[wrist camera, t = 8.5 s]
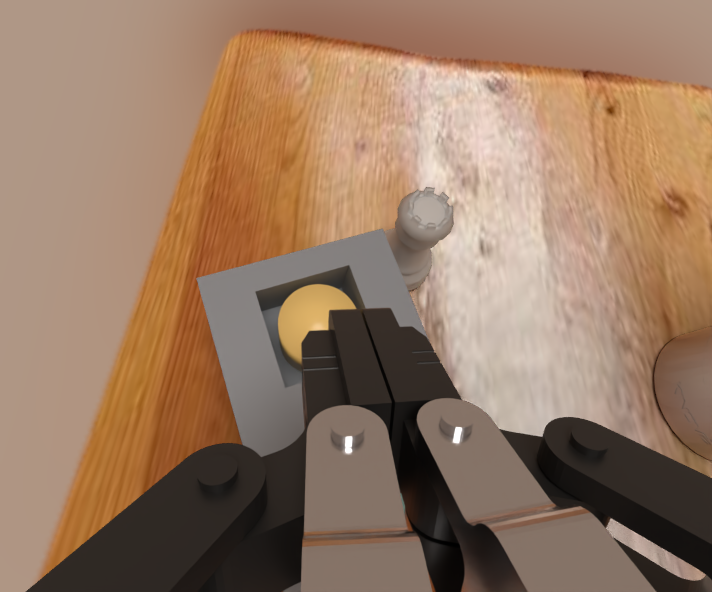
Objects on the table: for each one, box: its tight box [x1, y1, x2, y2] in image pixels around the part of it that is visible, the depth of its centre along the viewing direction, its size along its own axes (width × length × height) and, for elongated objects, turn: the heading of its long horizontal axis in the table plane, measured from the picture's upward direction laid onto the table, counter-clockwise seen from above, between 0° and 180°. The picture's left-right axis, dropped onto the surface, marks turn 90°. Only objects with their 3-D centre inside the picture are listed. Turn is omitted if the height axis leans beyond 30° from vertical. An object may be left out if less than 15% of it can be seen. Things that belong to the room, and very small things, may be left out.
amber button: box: [278, 284, 356, 372], centre depth 23 cm, size 4×4×4 cm
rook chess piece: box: [384, 187, 454, 291], centre depth 28 cm, size 4×4×8 cm
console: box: [197, 229, 429, 592], centre depth 24 cm, size 10×18×7 cm, turn 20°
